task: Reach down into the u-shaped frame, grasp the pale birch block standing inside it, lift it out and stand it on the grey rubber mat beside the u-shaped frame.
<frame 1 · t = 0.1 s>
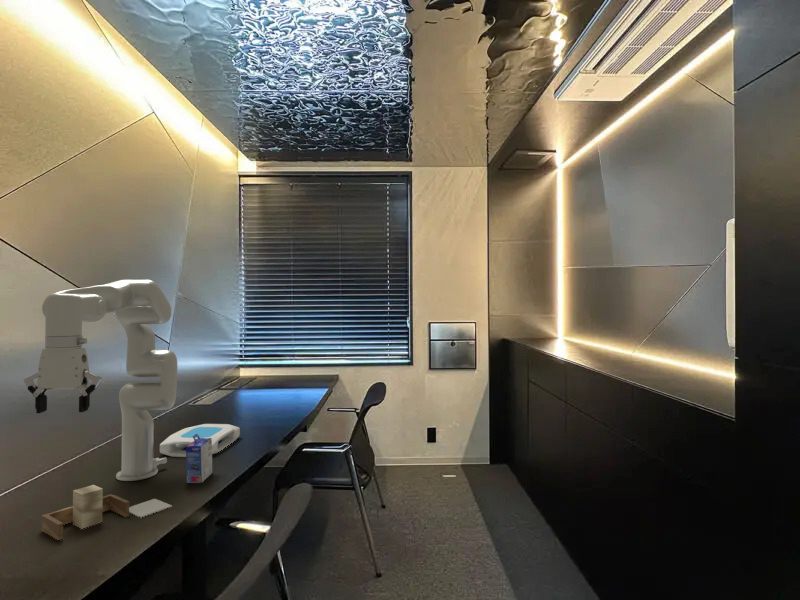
hand: (62, 411, 120), 31 cm above the table, tool pointing down, fingers open, 9 cm apart
mat: (148, 508, 137), on the table
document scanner: (202, 447, 198), on the table
block: (87, 506, 127), in the u-shaped frame
u-shaped frame: (87, 523, 127), on the table
ink cartridge box: (199, 478, 161), on the table
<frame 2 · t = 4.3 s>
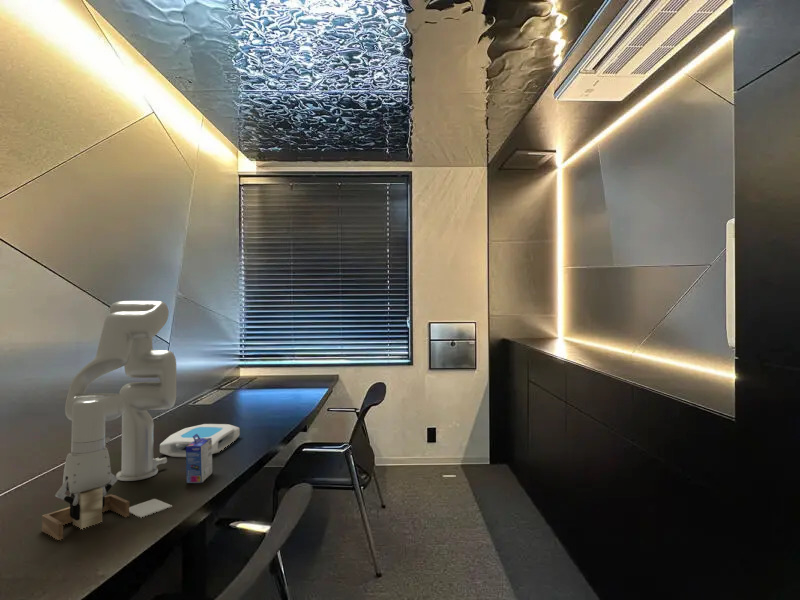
hand: (87, 514, 127), 2 cm above the table, tool pointing down, fingers closed on block, 5 cm apart
block: (87, 506, 127), in the u-shaped frame, touching gripper
everything else where it was.
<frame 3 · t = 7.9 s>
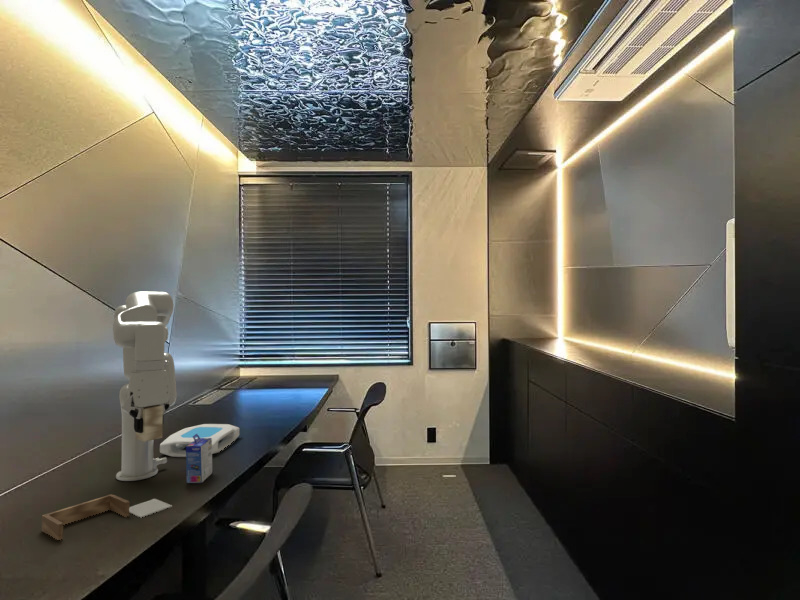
hand: (148, 429, 137), 22 cm above the table, tool pointing down, fingers closed on block, 5 cm apart
block: (149, 422, 137), point 24 cm above the table, touching gripper
everything else where it was.
when the fingers open (4 cm above the table, at t = 11.6 s): block stays where it is, resting on mat.
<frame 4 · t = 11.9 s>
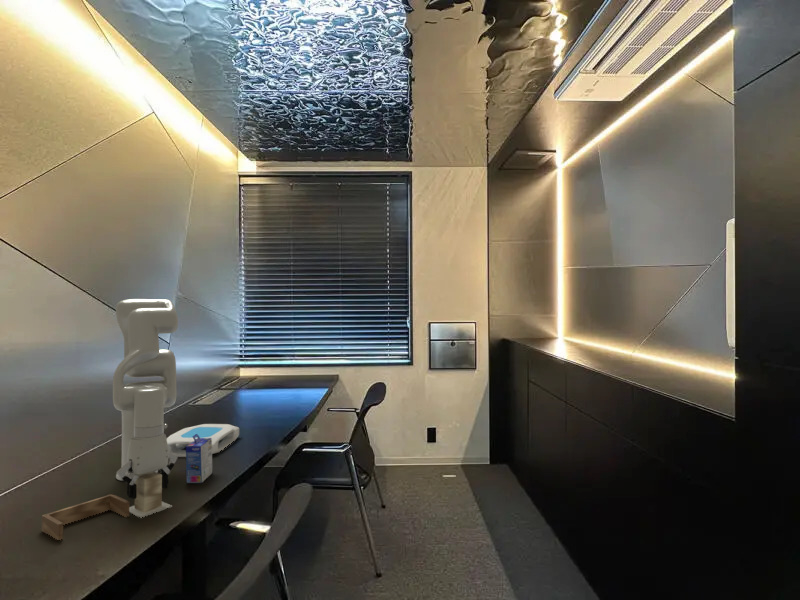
hand: (148, 492, 137), 5 cm above the table, tool pointing down, fingers open, 8 cm apart
block: (148, 491, 137), on the mat
everything else where it was.
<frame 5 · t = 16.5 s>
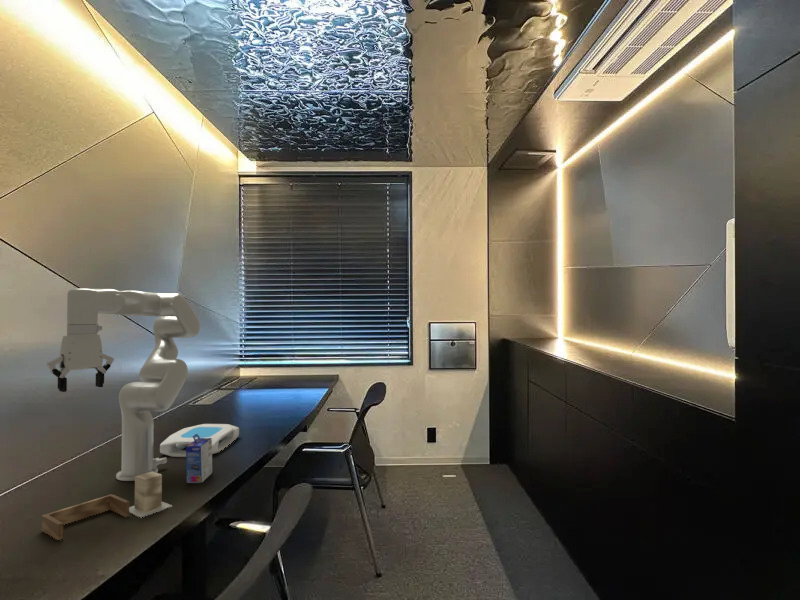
hand: (81, 389, 141), 33 cm above the table, tool pointing down, fingers open, 9 cm apart
nothing on the table moved.
at the end: block inside the target area on the mat (0.0 cm from its centre), point 4.9 cm above the mat's base; block tilted 0°; the gripper is holding nothing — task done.
